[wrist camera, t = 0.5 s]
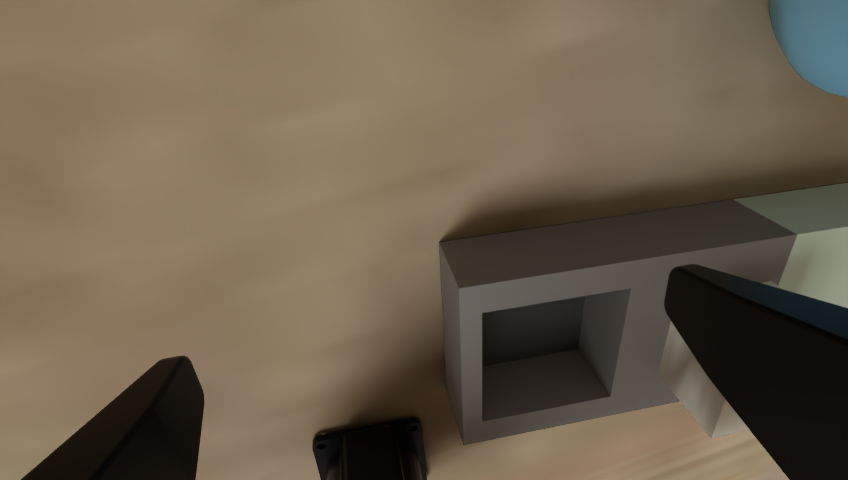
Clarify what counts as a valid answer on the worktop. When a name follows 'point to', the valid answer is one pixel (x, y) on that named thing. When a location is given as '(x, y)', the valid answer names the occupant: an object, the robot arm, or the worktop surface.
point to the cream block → (697, 387)
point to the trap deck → (611, 302)
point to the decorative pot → (814, 40)
